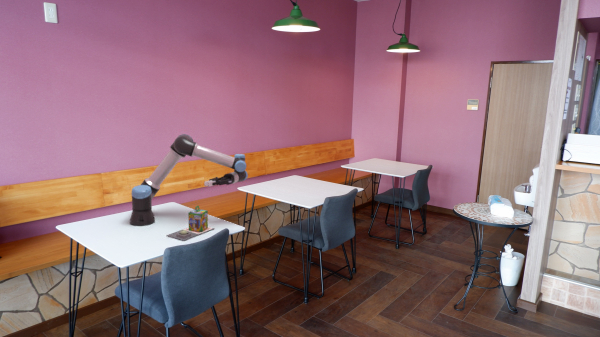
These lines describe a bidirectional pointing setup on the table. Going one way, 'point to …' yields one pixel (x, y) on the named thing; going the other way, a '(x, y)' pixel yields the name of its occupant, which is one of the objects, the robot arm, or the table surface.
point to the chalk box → (198, 219)
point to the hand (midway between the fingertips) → (206, 184)
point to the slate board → (188, 234)
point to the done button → (183, 232)
